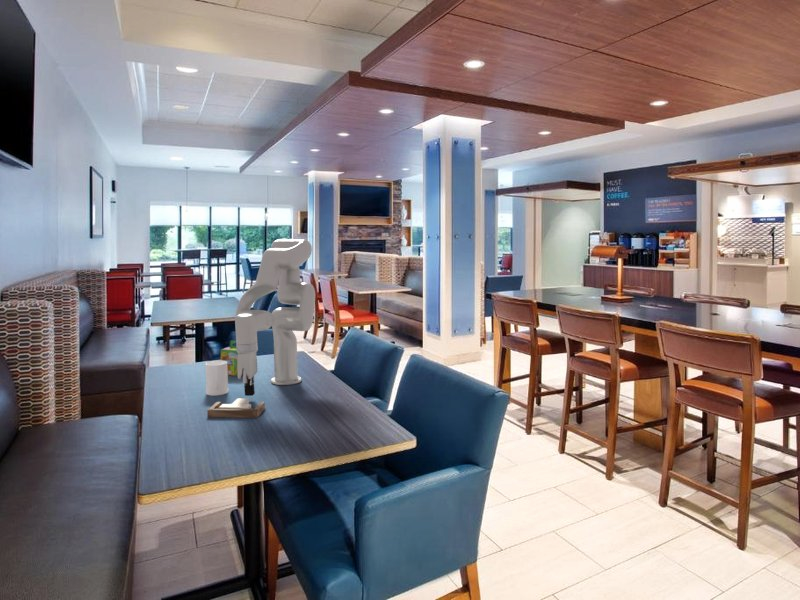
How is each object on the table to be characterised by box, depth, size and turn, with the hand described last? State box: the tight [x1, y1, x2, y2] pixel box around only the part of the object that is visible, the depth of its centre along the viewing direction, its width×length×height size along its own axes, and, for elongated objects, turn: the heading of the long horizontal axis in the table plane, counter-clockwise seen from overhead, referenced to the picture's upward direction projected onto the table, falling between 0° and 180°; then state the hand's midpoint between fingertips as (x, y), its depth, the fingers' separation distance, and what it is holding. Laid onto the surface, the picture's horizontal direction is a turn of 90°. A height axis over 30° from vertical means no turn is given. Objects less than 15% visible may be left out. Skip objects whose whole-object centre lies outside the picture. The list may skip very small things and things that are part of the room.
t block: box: [219, 397, 252, 409], centre depth 184 cm, size 10×10×3 cm
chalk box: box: [220, 340, 238, 377], centre depth 234 cm, size 9×9×15 cm
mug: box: [205, 359, 230, 396], centre depth 204 cm, size 12×8×12 cm
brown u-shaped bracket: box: [206, 401, 265, 419], centre depth 182 cm, size 9×17×2 cm, turn 89°
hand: (249, 394), depth 196 cm, fingers closed
